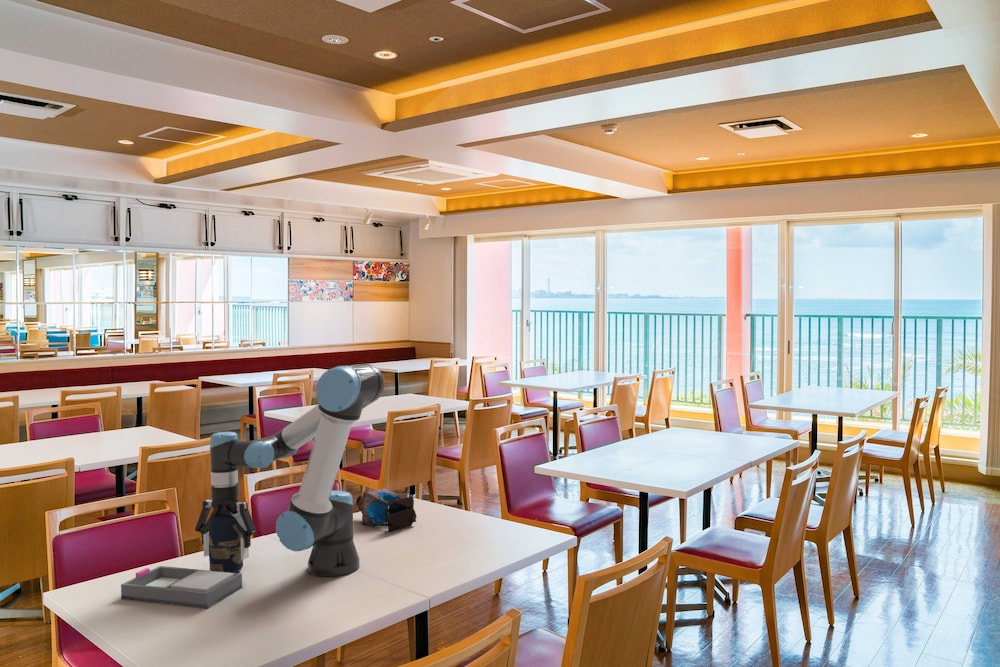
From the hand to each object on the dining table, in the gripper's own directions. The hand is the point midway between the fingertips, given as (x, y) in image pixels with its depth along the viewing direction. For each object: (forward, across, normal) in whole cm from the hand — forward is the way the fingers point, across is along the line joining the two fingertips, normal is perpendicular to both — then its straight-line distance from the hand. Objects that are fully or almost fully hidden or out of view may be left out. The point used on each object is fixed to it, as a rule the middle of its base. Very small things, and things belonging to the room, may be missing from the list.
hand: (226, 556), depth 220 cm
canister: (+5, 0, 0) cm, 5 cm away
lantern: (+5, -25, -56) cm, 62 cm away
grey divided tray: (+4, +1, +18) cm, 19 cm away
